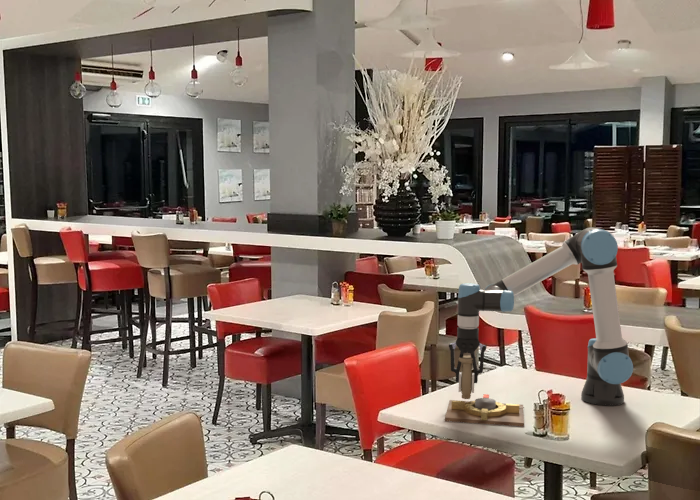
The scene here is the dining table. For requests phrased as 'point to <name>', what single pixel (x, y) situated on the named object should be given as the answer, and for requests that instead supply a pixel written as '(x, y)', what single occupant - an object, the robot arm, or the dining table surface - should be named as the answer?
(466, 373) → the handle
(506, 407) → the ring nut
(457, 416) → the board
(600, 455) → the dining table surface
